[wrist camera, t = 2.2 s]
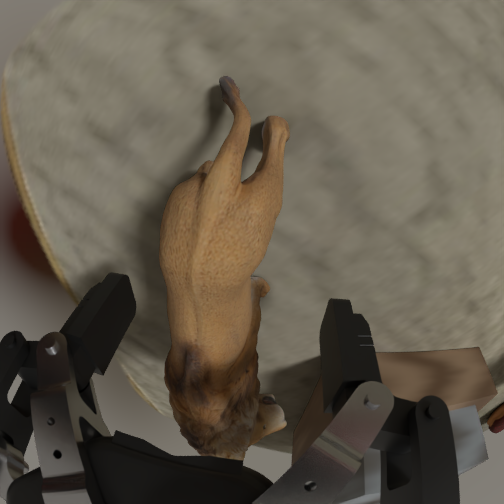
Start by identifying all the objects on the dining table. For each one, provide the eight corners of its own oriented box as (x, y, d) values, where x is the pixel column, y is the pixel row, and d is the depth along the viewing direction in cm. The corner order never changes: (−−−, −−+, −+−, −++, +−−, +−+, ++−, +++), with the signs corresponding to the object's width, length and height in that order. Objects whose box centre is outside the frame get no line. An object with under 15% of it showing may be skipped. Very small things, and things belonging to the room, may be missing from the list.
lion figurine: (290, 337, 17) (282, 475, 9) (208, 333, 18) (171, 460, 10) (289, 73, 9) (301, 1, 2) (164, 87, 10) (-23, 118, 2)
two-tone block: (479, 347, 16) (512, 445, 8) (403, 427, 25) (410, 497, 16) (330, 351, 17) (335, 496, 9) (293, 432, 26) (287, 511, 17)
